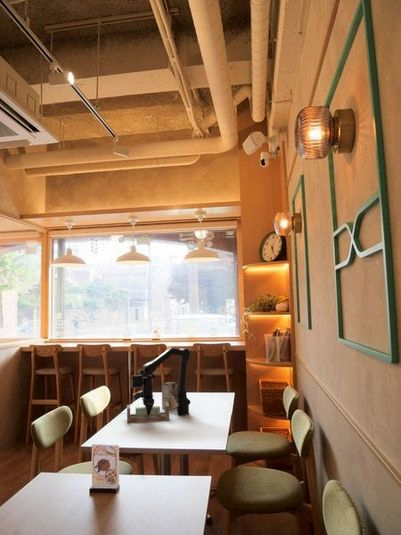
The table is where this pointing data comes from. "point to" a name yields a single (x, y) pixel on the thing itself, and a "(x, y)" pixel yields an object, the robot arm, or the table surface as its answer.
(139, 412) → the door panel
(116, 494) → the table surface
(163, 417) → the cabinet base
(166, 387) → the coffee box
